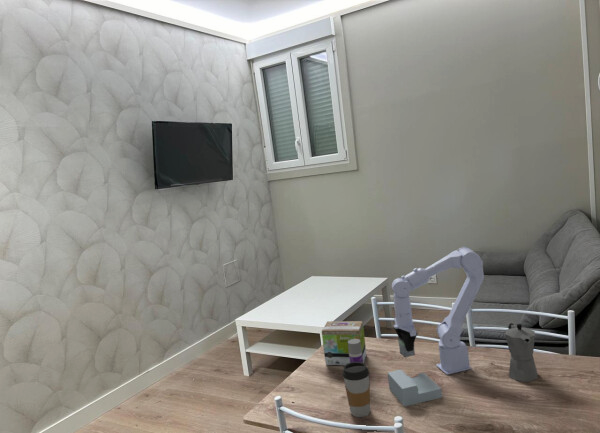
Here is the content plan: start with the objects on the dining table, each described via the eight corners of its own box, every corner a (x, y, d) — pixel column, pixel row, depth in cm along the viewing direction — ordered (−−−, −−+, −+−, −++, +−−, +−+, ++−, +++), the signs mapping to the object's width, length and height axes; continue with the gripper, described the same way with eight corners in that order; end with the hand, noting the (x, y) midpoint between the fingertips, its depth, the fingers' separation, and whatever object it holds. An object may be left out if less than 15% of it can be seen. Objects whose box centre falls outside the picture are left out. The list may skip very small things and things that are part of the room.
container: (365, 384, 162) (360, 343, 160) (351, 384, 163) (346, 344, 161) (365, 377, 166) (361, 338, 165) (353, 378, 167) (348, 338, 166)
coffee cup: (345, 407, 149) (339, 363, 147) (370, 402, 150) (365, 359, 148) (350, 421, 141) (344, 375, 139) (376, 416, 141) (371, 370, 139)
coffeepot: (547, 383, 147) (543, 330, 145) (516, 386, 147) (512, 333, 145) (526, 362, 162) (522, 313, 160) (499, 365, 163) (494, 316, 160)
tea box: (325, 366, 180) (320, 330, 178) (331, 355, 189) (326, 320, 188) (363, 366, 175) (358, 329, 174) (367, 354, 185) (362, 319, 183)
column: (410, 350, 168) (408, 335, 167) (415, 355, 164) (413, 339, 163) (399, 353, 167) (398, 337, 167) (404, 357, 163) (402, 341, 163)
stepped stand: (424, 380, 159) (422, 364, 158) (442, 397, 147) (440, 379, 146) (389, 389, 156) (387, 372, 156) (404, 406, 145) (402, 388, 144)
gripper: (385, 308, 170) (389, 343, 172) (401, 320, 156) (405, 358, 158) (402, 304, 171) (406, 339, 173) (420, 316, 157) (424, 354, 159)
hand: (407, 348), depth 166 cm, fingers closed on column, 4 cm apart
